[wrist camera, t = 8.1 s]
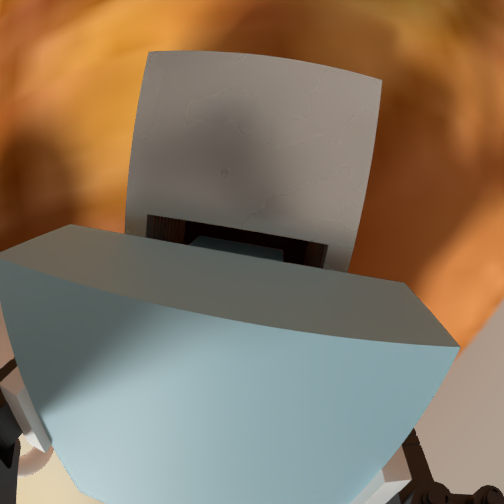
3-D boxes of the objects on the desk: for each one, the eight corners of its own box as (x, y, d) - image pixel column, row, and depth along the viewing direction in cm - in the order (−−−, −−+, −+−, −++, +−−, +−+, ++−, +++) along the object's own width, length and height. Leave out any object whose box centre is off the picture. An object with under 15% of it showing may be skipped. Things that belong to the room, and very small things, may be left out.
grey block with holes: (188, 82, 11) (148, 51, 7) (350, 105, 10) (382, 80, 6) (166, 437, 16) (148, 483, 13) (263, 457, 16) (258, 507, 12)
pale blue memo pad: (126, 205, 11) (-8, 255, 4) (368, 245, 10) (461, 347, 4) (132, 398, 14) (79, 491, 7) (303, 433, 13) (305, 543, 7)
